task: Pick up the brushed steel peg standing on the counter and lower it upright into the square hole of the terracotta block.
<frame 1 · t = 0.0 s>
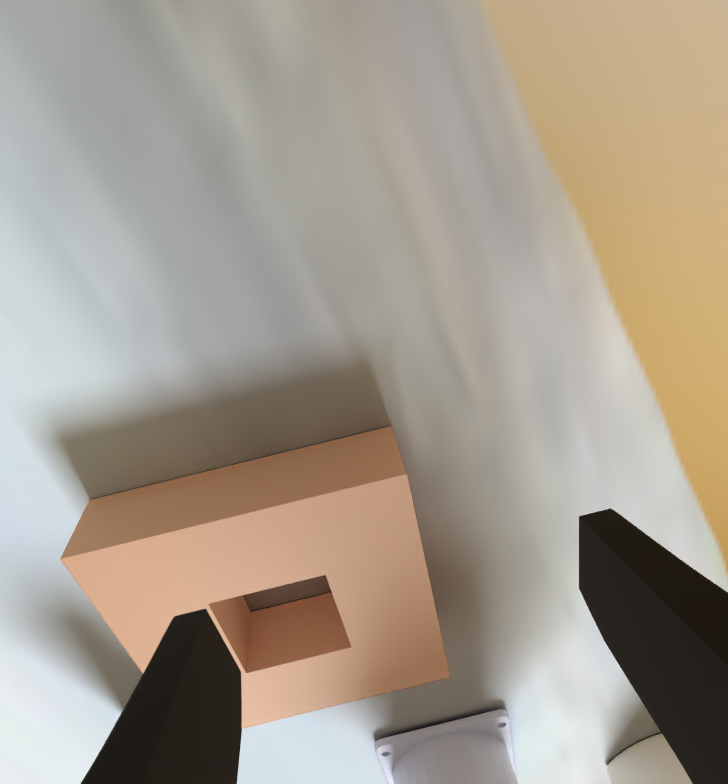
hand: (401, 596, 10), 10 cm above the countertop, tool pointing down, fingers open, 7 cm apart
eye dropper bottle: (641, 748, 36), on the countertop
hole block: (284, 567, 23), on the countertop
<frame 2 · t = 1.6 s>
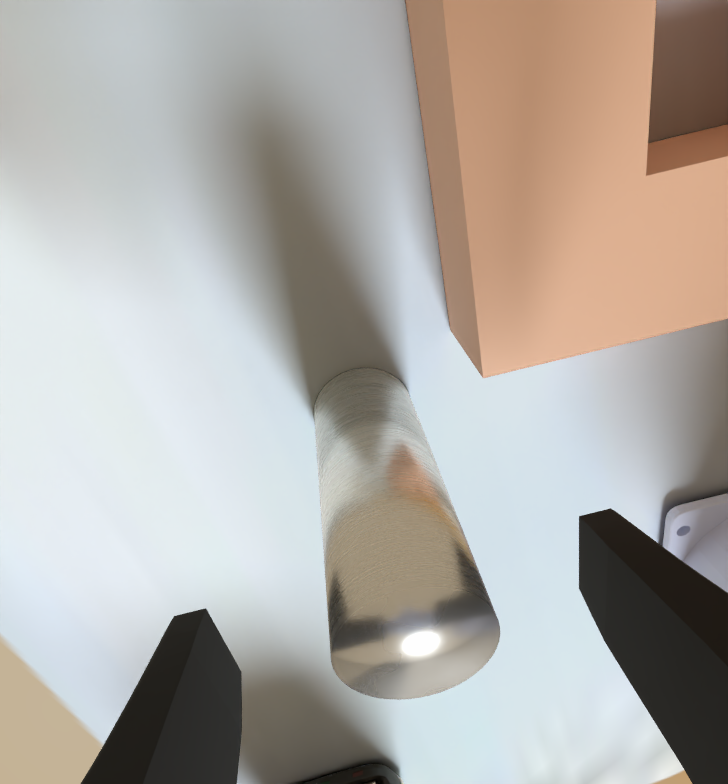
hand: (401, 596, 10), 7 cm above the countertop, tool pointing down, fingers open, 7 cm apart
hole block: (671, 34, 12), on the countertop
battery charger: (332, 778, 27), on the countertop
steel peg: (363, 411, 16), on the countertop
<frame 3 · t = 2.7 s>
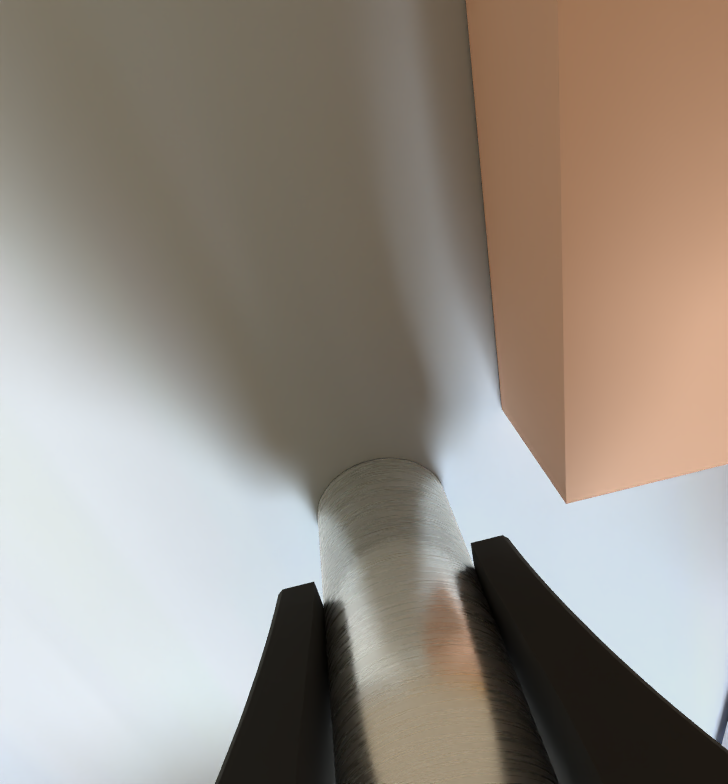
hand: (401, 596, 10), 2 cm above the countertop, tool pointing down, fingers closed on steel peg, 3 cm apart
steel peg: (382, 511, 12), on the countertop, touching gripper
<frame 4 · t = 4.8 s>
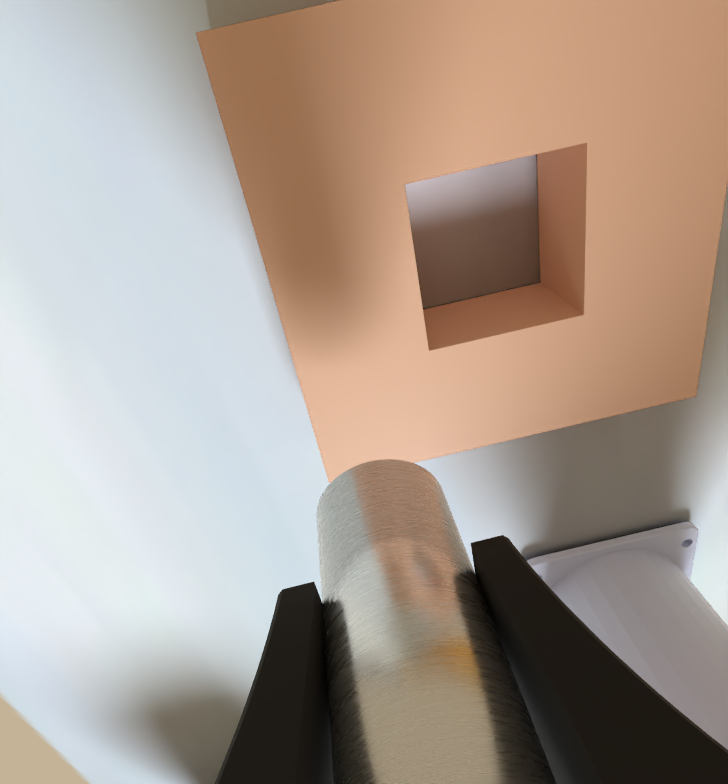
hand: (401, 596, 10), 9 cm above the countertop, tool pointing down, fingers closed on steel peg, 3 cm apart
hole block: (468, 229, 16), on the countertop
steel peg: (381, 511, 12), point 7 cm above the countertop, touching gripper
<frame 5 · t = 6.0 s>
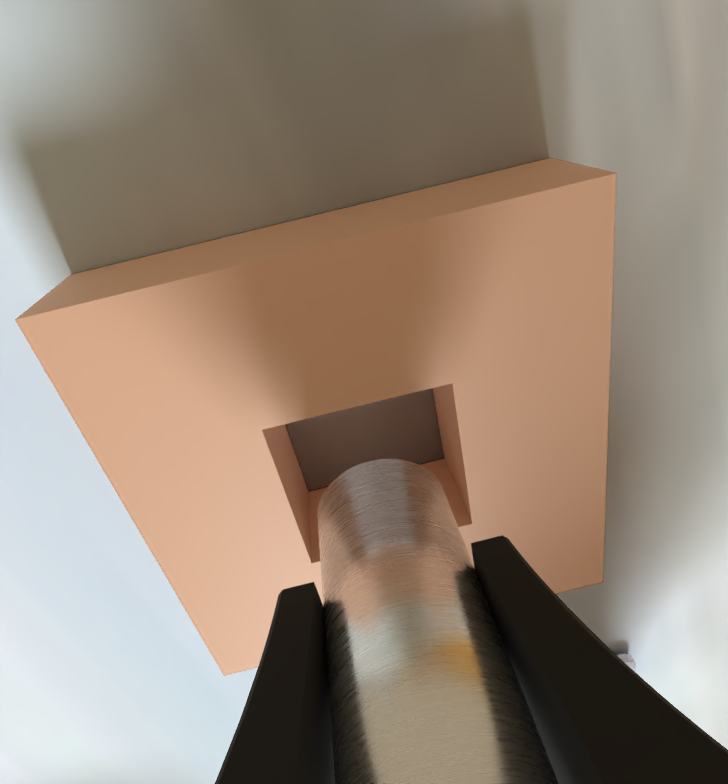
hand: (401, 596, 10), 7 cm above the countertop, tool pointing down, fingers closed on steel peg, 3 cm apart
hole block: (361, 417, 16), on the countertop
steel peg: (382, 511, 12), point 4 cm above the countertop, touching gripper
when the fingers open (4 cm above the countertop, at t = 6.9 s): steel peg drops 1 cm, resting in hole block.
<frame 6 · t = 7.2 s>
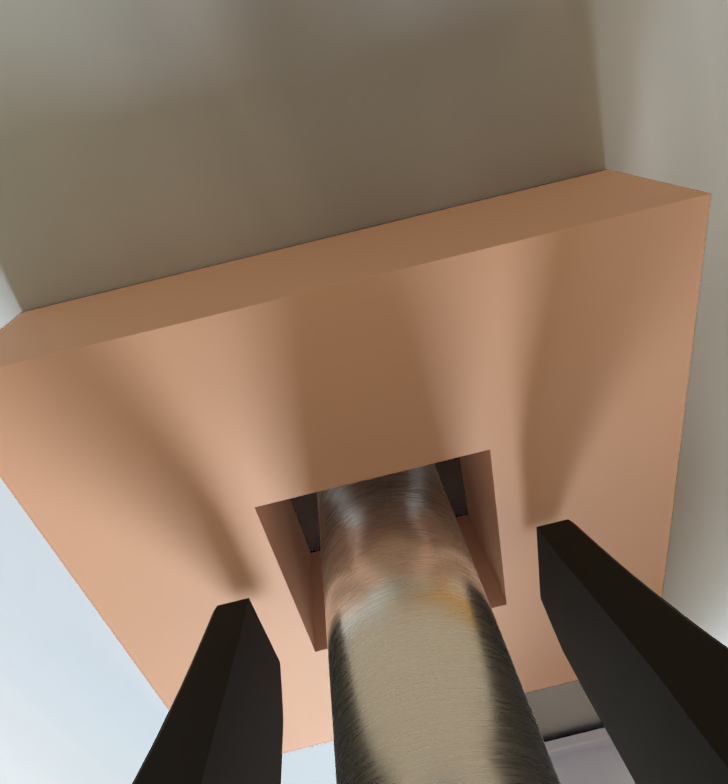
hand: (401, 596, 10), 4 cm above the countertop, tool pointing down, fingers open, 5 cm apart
hole block: (373, 471, 13), on the countertop
steel peg: (374, 470, 14), resting in hole block
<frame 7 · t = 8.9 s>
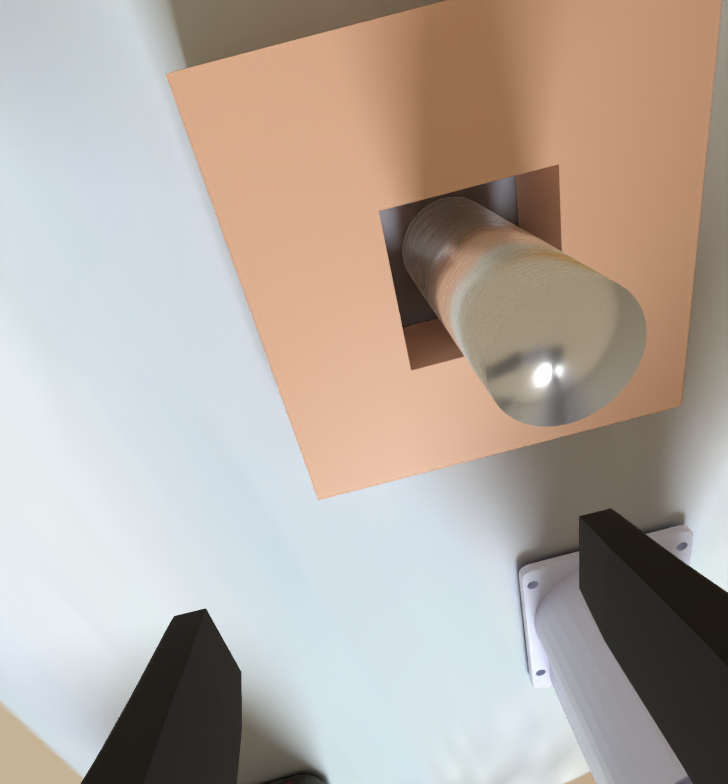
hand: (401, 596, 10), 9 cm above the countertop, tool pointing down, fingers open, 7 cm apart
hole block: (449, 247, 16), on the countertop
steel peg: (449, 247, 16), resting in hole block
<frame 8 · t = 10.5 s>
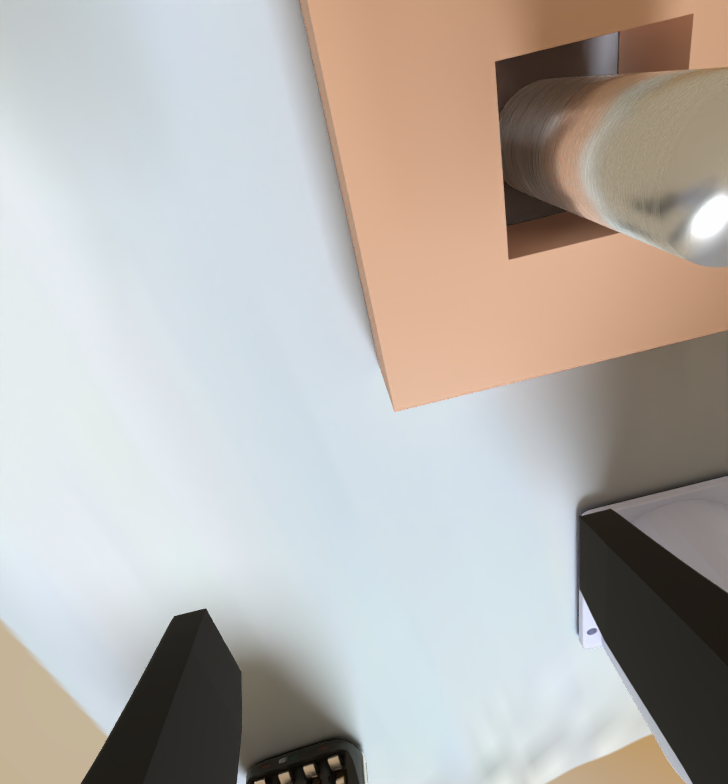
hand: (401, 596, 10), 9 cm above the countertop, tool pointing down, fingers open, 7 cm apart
hole block: (541, 138, 15), on the countertop
battery charger: (301, 753, 30), on the countertop
steel peg: (541, 138, 15), resting in hole block
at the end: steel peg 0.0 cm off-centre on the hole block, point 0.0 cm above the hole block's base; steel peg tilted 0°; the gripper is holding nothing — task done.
